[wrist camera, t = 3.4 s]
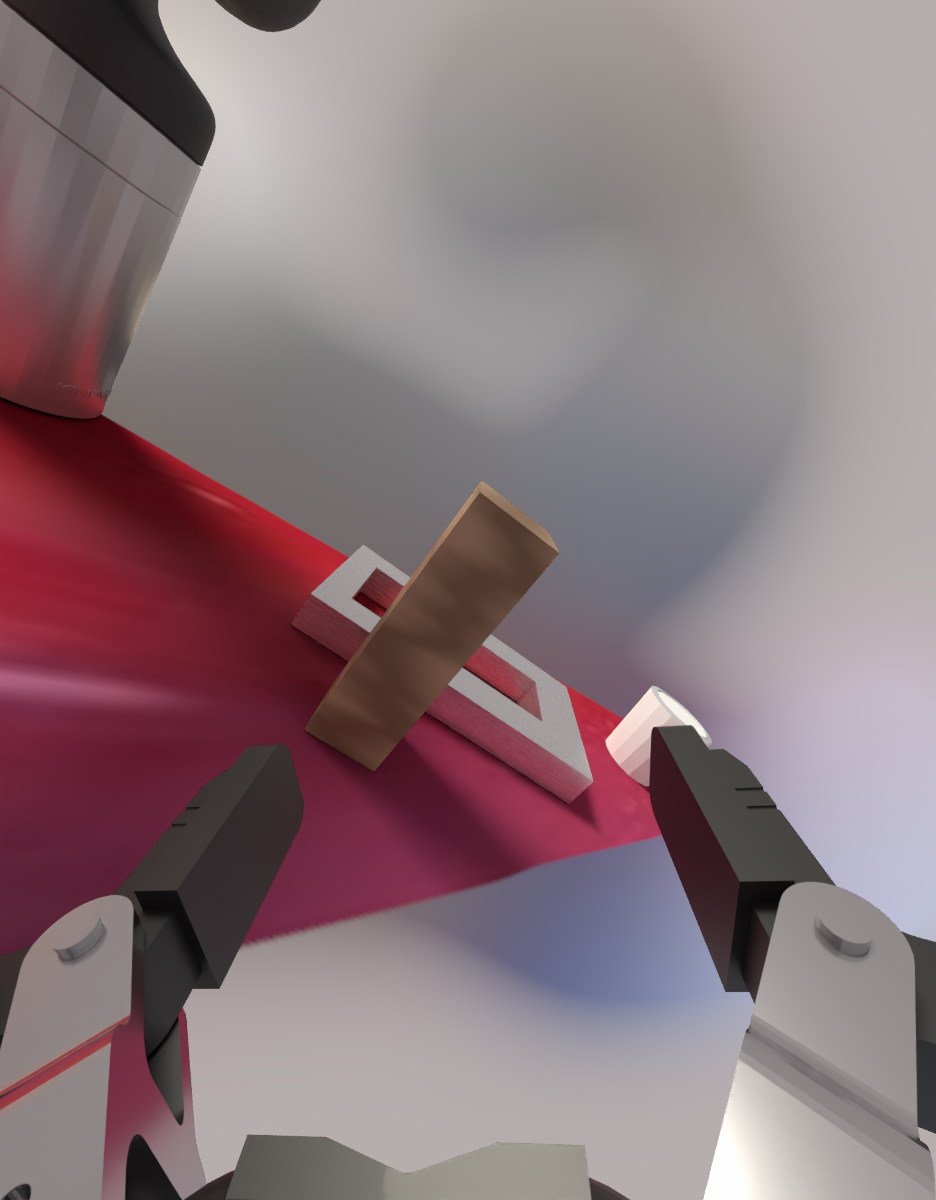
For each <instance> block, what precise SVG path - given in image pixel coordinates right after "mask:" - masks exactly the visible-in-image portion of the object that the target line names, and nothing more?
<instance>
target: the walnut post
mask: <svg viewBox="0 0 936 1200" xmlns="http://www.w3.org/2000/svg"><path fill="white" fill-rule="evenodd" d="M558 554H559V551H558V550H557V548H556V546H555V544H554V542H553V540H552V538H551V536H550V534H549V533H548V531H546V530H545V529H544V528H543V527H541V526H540V525H539V524H537V523H536V522H535V521H533V520H532V519H531V518H530V517H528V516H527V515H526V514H524V513H523V512H522V511H520V510H519V509H518V508H517V507H515V506H514V505H513V504H512V503H510V502H509V501H508V500H506V499H505V498H504V497H502V496H501V495H500V494H499V493H497V492H496V491H495V490H493V489H492V488H491V487H489V486H488V485H487V484H486V483H484V482H483V481H481V483H480V484H479V485H478V487H477V488H476V489H475V491H474V492H473V494H472V495H471V496H470V498H469V499H468V500H467V502H466V503H465V505H464V506H463V507H462V508H461V510H460V511H459V513H458V514H457V515H456V517H455V518H454V519H453V521H452V522H451V524H450V525H449V526H448V528H447V529H446V530H445V532H444V533H443V534H442V536H441V537H440V538H439V540H438V541H437V542H436V544H435V545H434V547H433V548H432V549H431V551H430V552H429V553H428V555H427V556H426V558H425V559H424V560H423V562H422V563H421V564H420V566H419V567H418V568H417V570H416V571H415V573H414V574H413V575H412V577H411V578H410V579H409V581H408V582H407V583H406V585H405V586H404V587H403V589H402V590H401V591H400V593H399V594H398V596H397V597H396V598H395V600H394V601H393V602H392V604H391V605H390V606H389V608H388V609H387V610H386V612H385V613H384V615H383V616H382V617H381V619H380V620H379V621H378V623H377V624H376V625H375V627H374V628H373V629H372V631H371V632H370V634H369V635H368V636H367V638H366V639H365V640H364V642H363V643H362V644H361V646H360V647H359V649H358V650H357V651H356V653H355V654H354V655H353V657H352V658H351V659H350V661H349V662H348V663H347V665H346V666H345V668H344V669H343V670H342V672H341V673H340V674H339V676H338V677H337V678H336V680H335V681H334V683H333V684H332V685H331V687H330V688H329V690H328V692H327V693H326V695H325V696H324V698H323V700H322V701H321V703H320V705H319V706H318V708H317V709H316V711H315V713H314V714H313V716H312V718H311V719H310V721H309V722H308V724H307V726H306V727H305V729H304V730H305V731H307V732H309V733H310V734H312V735H314V736H315V737H317V738H318V739H320V740H322V741H323V742H325V743H327V744H328V745H330V746H332V747H333V748H335V749H337V750H338V751H340V752H342V753H343V754H345V755H347V756H348V757H350V758H352V759H353V760H355V761H356V762H358V763H360V764H361V765H363V766H365V767H366V768H368V769H370V770H371V771H373V772H374V771H375V770H376V769H377V768H378V766H379V765H380V764H381V763H382V762H383V761H384V759H385V758H386V757H387V756H388V755H389V754H390V752H391V751H392V750H393V749H394V748H395V746H396V745H397V744H398V743H399V742H400V741H401V739H402V738H403V737H404V736H405V735H406V733H407V732H408V731H409V730H410V729H411V728H412V726H413V725H414V724H415V723H416V722H417V720H418V719H419V718H420V717H421V716H422V715H423V713H424V712H425V711H426V710H427V709H428V707H429V706H430V705H431V704H432V703H433V702H434V700H435V699H436V698H437V697H438V696H439V694H440V693H441V692H442V691H443V690H444V689H445V687H446V686H447V685H448V684H449V683H450V681H451V680H452V679H453V678H454V677H455V676H456V674H457V673H458V672H459V671H460V670H461V669H462V667H463V666H464V665H465V664H466V663H467V661H468V660H469V659H470V658H471V657H472V656H473V654H474V653H475V652H476V651H477V650H478V648H479V647H480V646H481V645H482V644H483V643H484V641H485V640H486V639H487V638H488V637H489V635H490V634H491V633H492V632H493V631H494V630H495V628H496V627H497V626H498V625H499V624H500V622H501V621H502V620H503V619H504V618H505V617H506V615H507V614H508V613H509V612H510V611H511V609H512V608H513V607H514V606H515V605H516V604H517V602H518V601H519V600H520V599H521V598H522V596H523V595H524V594H525V593H526V592H527V591H528V589H529V588H530V587H531V586H532V585H533V583H534V582H535V581H536V580H537V579H538V578H539V576H540V575H541V574H542V573H543V571H545V569H546V568H547V567H548V566H549V565H550V563H551V562H552V561H553V560H554V559H555V558H556V556H557V555H558Z"/></svg>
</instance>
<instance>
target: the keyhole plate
mask: <svg viewBox="0 0 936 1200" xmlns="http://www.w3.org/2000/svg"><path fill="white" fill-rule="evenodd" d="M409 579H410V577H408V576H407V575H406V574H404V573H403V572H401V571H400V570H399V569H397V568H396V567H394V566H393V565H391V564H390V563H388V562H387V561H385V560H384V559H383V558H381V557H380V556H379V555H377V554H376V553H374V552H373V551H371V550H370V549H369V548H367V547H366V546H364V545H363V546H362V547H360V548H359V549H358V550H357V551H356V552H355V553H354V554H353V555H352V556H351V557H350V558H349V559H347V560H346V561H345V562H344V563H343V564H342V565H341V566H340V567H339V568H338V569H337V570H336V571H335V572H333V573H332V574H331V575H330V576H329V577H328V578H327V579H326V580H325V581H324V582H323V583H322V584H321V585H319V586H318V587H317V588H316V589H315V590H314V591H313V592H312V593H311V594H310V596H309V597H308V599H307V600H306V602H305V603H304V605H303V606H302V608H301V609H300V611H299V612H298V614H297V615H296V617H295V618H294V620H293V621H292V623H291V625H292V626H294V627H295V628H297V629H299V630H300V631H302V632H303V633H305V634H306V635H308V636H309V637H311V638H313V639H314V640H316V641H317V642H319V643H320V644H322V645H323V646H325V647H326V648H328V649H330V650H331V651H333V652H334V653H336V654H337V655H339V656H340V657H342V658H343V659H345V660H347V661H348V662H349V661H350V659H351V658H352V657H353V655H354V654H355V653H356V651H357V650H358V649H359V647H360V646H361V644H362V643H363V642H364V640H365V639H366V638H367V636H368V635H369V634H370V632H371V631H372V629H373V628H374V627H375V625H376V624H377V623H378V621H379V620H380V619H381V618H380V617H379V616H377V615H376V614H374V613H373V612H371V611H370V610H368V609H367V608H365V607H364V606H362V605H361V604H359V603H358V602H356V601H355V600H354V598H355V597H356V596H357V594H358V593H359V592H362V593H363V594H365V595H366V596H368V597H369V598H371V599H372V600H374V601H375V602H377V603H378V604H380V605H381V606H382V607H384V608H385V609H388V608H389V606H390V605H391V604H392V602H393V601H394V600H395V598H396V597H397V596H398V594H399V593H400V591H401V590H402V589H403V587H404V586H405V585H406V583H407V582H408V581H409ZM464 667H466V668H467V669H469V670H470V671H472V672H473V673H475V674H476V675H478V676H479V677H480V678H482V679H483V680H485V681H486V682H488V683H489V684H491V685H492V686H494V687H495V688H497V689H498V690H500V691H501V692H503V693H504V694H506V695H507V696H508V697H510V698H511V699H513V700H514V701H516V702H517V704H515V703H514V702H512V701H511V700H510V699H508V698H507V697H505V696H504V695H502V694H501V693H499V692H498V691H496V690H495V689H493V688H492V687H490V686H489V685H487V684H486V683H484V682H483V681H481V680H480V679H479V678H477V677H476V676H474V675H473V674H471V673H470V672H468V671H467V670H465V669H464V668H462V669H461V670H460V671H459V672H458V673H457V674H456V676H455V677H454V678H453V679H452V680H451V681H450V683H449V684H448V685H447V686H446V687H445V689H444V690H443V691H442V692H441V693H440V694H439V696H438V697H437V698H436V699H435V700H434V702H433V703H432V704H431V705H430V706H429V707H428V709H427V710H426V712H427V713H429V714H430V715H432V716H433V717H435V718H436V719H438V720H439V721H441V722H443V723H444V724H446V725H447V726H449V727H450V728H452V729H453V730H455V731H456V732H458V733H460V734H461V735H463V736H464V737H466V738H467V739H469V740H470V741H472V742H473V743H475V744H477V745H478V746H480V747H481V748H483V749H484V750H486V751H487V752H489V753H491V754H492V755H494V756H495V757H497V758H498V759H500V760H501V761H503V762H504V763H506V764H508V765H509V766H511V767H512V768H514V769H515V770H517V771H518V772H520V773H521V774H523V775H525V776H526V777H528V778H529V779H531V780H532V781H534V782H535V783H537V784H539V785H540V786H542V787H543V788H545V789H546V790H548V791H549V792H551V793H552V794H554V795H556V796H557V797H559V798H560V799H562V800H563V801H565V802H566V803H568V804H570V803H571V802H572V801H573V800H574V799H575V798H576V797H577V796H578V795H579V794H580V793H582V792H583V791H584V790H585V789H586V788H587V787H588V786H589V785H590V784H591V783H592V782H593V778H592V774H591V771H590V767H589V764H588V761H587V757H586V754H585V750H584V747H583V743H582V740H581V736H580V733H579V729H578V726H577V722H576V719H575V715H574V712H573V708H572V705H571V701H570V698H569V694H568V691H567V687H565V686H564V685H562V684H561V683H560V682H558V681H557V680H555V679H554V678H552V677H551V676H550V675H548V674H547V673H545V672H544V671H542V670H541V669H540V668H538V667H537V666H535V665H534V664H532V663H531V662H530V661H528V660H527V659H525V658H524V657H522V656H521V655H520V654H518V653H517V652H515V651H514V650H512V649H511V648H510V647H508V646H507V645H505V644H504V643H503V642H501V641H500V640H498V639H497V638H495V637H494V636H493V635H491V634H490V635H489V637H488V638H487V639H486V640H485V641H484V643H483V644H482V645H481V646H480V647H479V648H478V650H477V651H476V652H475V653H474V654H473V656H472V657H471V658H470V659H469V660H468V661H467V663H466V664H465V665H464Z"/></svg>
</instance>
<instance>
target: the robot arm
mask: <svg viewBox="0 0 936 1200" xmlns="http://www.w3.org/2000/svg"><path fill="white" fill-rule="evenodd" d="M215 1H216V2H217V3H218V4H219V5H221V6H222V7H223V8H224V9H225V10H226V11H228V12H229V13H230V14H232V15H233V16H235V17H236V18H238V19H239V20H241V21H242V22H244V23H245V24H247V25H249V26H251V27H253V28H256V29H259V30H262V31H267V32H277V31H282V30H286V29H290V28H292V27H294V26H296V25H297V24H299V23H300V22H302V21H303V20H305V19H306V18H307V17H308V16H309V15H310V14H311V13H312V12H313V11H314V9H315V8H316V7H317V5H318V4H319V2H320V1H321V0H215ZM214 133H215V118H214V114H213V111H212V109H211V107H210V105H209V103H208V101H207V100H206V98H205V97H204V95H203V94H202V92H201V91H200V89H199V88H198V86H197V85H196V83H195V82H194V81H193V79H192V78H191V76H190V75H189V73H188V72H187V70H186V69H185V68H184V66H183V65H182V63H181V62H180V60H179V58H178V57H177V55H176V53H175V52H174V50H173V48H172V46H171V44H170V42H169V40H168V38H167V35H166V33H165V31H164V29H163V26H162V23H161V20H160V17H159V13H158V0H0V397H2V398H5V399H7V400H9V401H12V402H15V403H18V404H21V405H24V406H26V407H29V408H32V409H36V410H39V411H43V412H46V413H50V414H54V415H59V416H64V417H69V418H80V419H87V418H95V417H97V416H100V415H101V413H102V412H103V409H104V407H105V404H106V402H107V399H108V397H109V395H110V393H111V391H112V387H113V385H114V382H115V380H116V377H117V375H118V372H119V370H120V367H121V365H122V363H123V361H124V358H125V356H126V353H127V351H128V348H129V346H130V344H131V341H132V339H133V336H134V334H135V331H136V329H137V326H138V324H139V321H140V319H141V316H142V314H143V312H144V309H145V307H146V304H147V302H148V299H149V297H150V294H151V292H152V289H153V287H154V284H155V282H156V280H157V277H158V275H159V272H160V270H161V267H162V265H163V262H164V260H165V257H166V255H167V252H168V250H169V247H170V245H171V243H172V240H173V237H174V235H175V233H176V230H177V228H178V225H179V223H180V220H181V217H182V215H183V213H184V210H185V208H186V205H187V202H188V200H189V198H190V195H191V193H192V190H193V188H194V185H195V183H196V180H197V178H198V176H199V173H200V171H201V169H200V167H199V166H198V165H200V166H203V163H204V161H205V159H206V156H207V154H208V151H209V149H210V146H211V144H212V141H213V138H214ZM649 791H650V799H651V804H652V809H653V813H654V816H655V819H656V821H657V824H658V826H659V828H660V831H661V833H662V836H663V838H664V841H665V843H666V846H667V848H668V851H669V853H670V856H671V858H672V860H673V863H674V866H675V868H676V870H677V873H678V875H679V878H680V880H681V883H682V885H683V888H684V890H685V893H686V895H687V897H688V900H689V903H690V905H691V908H692V910H693V912H694V915H695V917H696V920H697V922H698V925H699V927H700V930H701V932H702V935H703V937H704V940H705V942H706V945H707V947H708V949H709V952H710V955H711V957H712V959H713V962H714V964H715V967H716V969H717V972H718V974H719V977H720V979H721V982H722V984H723V986H724V989H725V991H726V992H750V994H751V997H752V999H753V1001H754V1004H755V1006H754V1010H753V1014H752V1018H751V1022H750V1025H749V1029H747V1030H746V1034H745V1037H744V1040H743V1044H742V1048H741V1051H740V1055H739V1059H738V1063H737V1068H736V1071H735V1076H734V1080H733V1084H732V1088H731V1092H730V1096H729V1100H728V1104H727V1108H726V1112H725V1116H724V1120H723V1124H722V1128H721V1132H720V1136H719V1140H718V1144H717V1148H716V1153H715V1157H714V1161H713V1164H712V1169H711V1173H710V1177H709V1181H708V1185H707V1189H706V1193H705V1197H704V1200H936V1198H935V1180H934V1170H933V1163H932V1158H931V1154H930V1151H929V1148H928V1146H927V1145H926V1144H925V1143H923V1142H922V1141H920V1138H919V1134H918V1127H920V1128H923V1129H925V1130H928V1131H930V1132H933V1133H935V1134H936V942H933V941H929V940H926V939H922V938H918V937H916V936H912V935H909V934H907V933H904V932H901V931H900V930H899V928H898V927H897V926H896V925H895V924H894V923H893V922H892V921H891V920H890V919H889V918H888V917H887V916H886V915H885V914H884V913H882V911H880V910H879V909H878V908H876V907H875V906H874V905H872V904H871V903H870V902H868V901H866V900H865V899H863V898H861V897H860V896H858V895H856V894H853V893H852V892H850V891H848V890H845V889H842V888H840V887H837V886H836V885H835V884H834V883H833V881H832V880H831V879H830V877H829V876H828V875H827V873H826V872H825V870H824V869H823V868H822V866H821V865H820V864H819V862H818V861H817V860H816V858H815V857H814V855H813V854H812V853H811V851H810V850H809V849H808V847H807V846H806V845H805V843H804V842H803V841H802V839H801V838H800V837H799V835H798V834H797V832H796V831H795V830H794V828H793V827H792V826H791V824H790V823H789V822H788V820H787V819H786V818H785V817H784V815H783V814H782V812H781V811H780V810H777V808H776V804H775V803H774V801H773V800H772V799H771V798H770V796H769V795H768V793H767V792H764V790H763V787H762V785H761V784H760V783H759V781H758V780H757V778H756V777H755V776H754V775H753V773H752V772H751V770H750V769H749V768H748V766H746V765H745V764H744V763H742V762H741V761H739V760H738V759H737V758H735V757H734V756H732V755H731V754H730V753H728V752H727V751H726V750H724V749H715V750H709V749H708V747H707V746H706V744H705V743H704V741H703V740H702V738H701V737H700V735H699V734H698V732H697V731H696V729H695V728H694V727H693V726H692V725H680V726H660V727H653V729H652V732H651V750H650V778H649ZM303 809H304V804H303V796H302V793H301V789H300V786H299V782H298V778H297V775H296V771H295V768H294V764H293V761H292V757H291V753H290V751H289V749H288V747H287V746H286V745H284V744H274V745H254V746H249V747H248V748H246V749H245V751H244V752H243V753H242V754H241V756H240V757H239V758H238V759H237V761H236V762H235V763H234V764H233V766H232V767H231V768H230V770H224V771H223V772H222V773H220V774H219V775H218V776H216V777H215V778H214V779H212V780H211V781H210V782H209V783H207V784H206V785H205V786H203V787H202V788H201V789H200V791H199V792H198V793H197V794H196V795H195V797H194V798H193V799H192V800H191V801H190V803H189V804H188V805H187V806H186V810H185V811H182V812H181V814H180V815H179V816H178V817H177V818H176V820H175V821H174V822H173V823H172V827H171V828H168V829H167V830H166V832H165V833H164V834H163V835H162V837H161V838H160V839H159V840H158V841H157V843H156V844H155V845H154V846H153V847H152V849H151V850H150V851H149V852H148V854H147V855H146V856H145V857H144V858H143V860H142V861H141V862H140V863H139V864H138V866H137V867H136V868H135V869H134V870H133V872H132V873H131V874H130V875H129V877H128V878H127V879H126V880H125V881H124V883H123V884H122V885H121V886H120V887H119V889H118V890H117V891H116V892H115V894H114V895H110V896H105V897H101V898H97V899H94V900H92V901H90V902H87V903H85V904H83V905H81V906H79V907H77V908H75V909H74V910H72V911H71V912H69V913H67V914H66V915H65V916H63V917H62V918H60V919H59V920H58V921H56V922H55V923H54V924H53V925H52V926H51V927H49V928H48V929H47V930H46V931H45V932H44V933H43V934H42V935H41V936H40V937H39V938H38V940H37V941H36V942H35V943H34V944H33V946H30V947H27V948H24V949H21V950H17V951H14V952H11V953H8V954H4V955H1V956H0V1200H630V1199H628V1198H626V1197H625V1196H623V1195H622V1194H620V1193H618V1192H617V1191H615V1190H614V1189H612V1188H610V1187H609V1186H607V1185H604V1184H602V1183H600V1182H597V1181H595V1180H593V1179H591V1178H589V1176H588V1168H587V1159H586V1151H585V1145H563V1144H531V1143H530V1144H529V1143H495V1144H492V1145H489V1146H486V1147H484V1148H481V1149H478V1150H475V1151H472V1152H469V1153H467V1154H464V1155H461V1156H458V1157H456V1158H453V1159H450V1160H447V1161H444V1162H441V1163H438V1164H436V1165H433V1166H430V1167H427V1168H424V1169H421V1170H419V1171H416V1172H411V1173H403V1172H400V1171H397V1170H395V1169H393V1168H391V1167H388V1166H386V1165H384V1164H382V1163H380V1162H378V1161H376V1160H374V1159H372V1158H369V1157H367V1156H365V1155H363V1154H361V1153H359V1152H357V1151H354V1150H352V1149H350V1148H348V1147H346V1146H344V1145H342V1144H340V1143H338V1142H336V1141H333V1140H331V1139H329V1138H327V1137H303V1136H271V1135H247V1138H246V1141H245V1144H244V1147H243V1149H242V1152H241V1155H240V1158H239V1161H238V1163H237V1166H236V1169H235V1170H234V1171H231V1172H229V1173H227V1174H225V1175H223V1176H221V1177H219V1178H217V1179H215V1180H214V1181H212V1182H210V1183H208V1184H206V1180H205V1175H204V1172H203V1168H202V1165H201V1162H200V1158H199V1154H198V1149H197V1144H196V1139H195V1129H194V1116H193V1102H192V1088H191V1074H190V1061H189V1047H188V1032H187V1019H186V1014H185V1012H184V1010H183V1008H182V1007H183V1005H184V1004H185V1002H186V1000H187V998H188V996H189V994H190V993H191V991H192V989H219V988H220V986H221V984H222V982H223V980H224V978H225V976H226V974H227V972H228V970H229V968H230V966H231V964H232V962H233V960H234V958H235V956H236V954H237V952H238V950H239V948H240V946H241V944H242V942H243V940H244V938H245V936H246V934H247V932H248V930H249V928H250V926H251V924H252V922H253V920H254V918H255V916H256V914H257V912H258V910H259V908H260V906H261V904H262V902H263V900H264V898H265V896H266V894H267V892H268V890H269V888H270V886H271V884H272V882H273V880H274V878H275V876H276V874H277V872H278V870H279V868H280V866H281V864H282V862H283V860H284V858H285V856H286V854H287V852H288V850H289V848H290V846H291V844H292V842H293V840H294V838H295V836H296V834H297V832H298V830H299V827H300V825H301V822H302V817H303Z"/></svg>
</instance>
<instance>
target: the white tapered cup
mask: <svg viewBox="0 0 936 1200" xmlns="http://www.w3.org/2000/svg"><path fill="white" fill-rule="evenodd" d="M680 725H692V726H693V727H694V728H695V729H696V731H697V732H698V734H699V735H700V737H701V738H702V740H703V741H704V743H705V744H706V746H707V747H708V746H709V745H711V738H710V737H709V735H708V733H707V732H706V731H705V729H704V728H703V727H702V726H701V725H700V723H699V722H698V721H697V720H696V719H695V718H694V717H693V716H692V715H691V713H690V712H689V711H688V710H686V709H685V708H684V707H683V706H682V705H681V704H680V703H679V702H678V701H676V700H675V699H674V698H672V697H671V696H670V695H669V694H667V693H666V692H664V691H663V690H661V689H660V688H658V687H655V686H652V687H651V688H650V689H649V690H648V691H647V693H646V694H645V695H644V696H643V697H642V699H641V700H640V701H639V702H638V703H637V704H636V705H635V707H634V708H633V709H632V710H631V711H630V712H629V714H628V715H627V716H626V717H625V718H624V719H623V721H622V722H621V723H620V724H619V725H618V726H617V728H616V729H615V730H614V731H613V732H612V733H611V735H610V736H609V737H608V738H607V739H606V745H607V748H608V750H609V752H610V754H611V755H612V757H613V758H614V759H615V761H616V762H617V763H618V765H619V766H620V767H621V768H622V769H623V770H624V771H625V772H626V773H627V774H628V775H629V776H630V777H631V778H633V779H634V780H635V781H637V782H638V783H640V784H642V785H644V786H649V778H650V750H651V732H652V729H653V727H660V726H680Z"/></svg>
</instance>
